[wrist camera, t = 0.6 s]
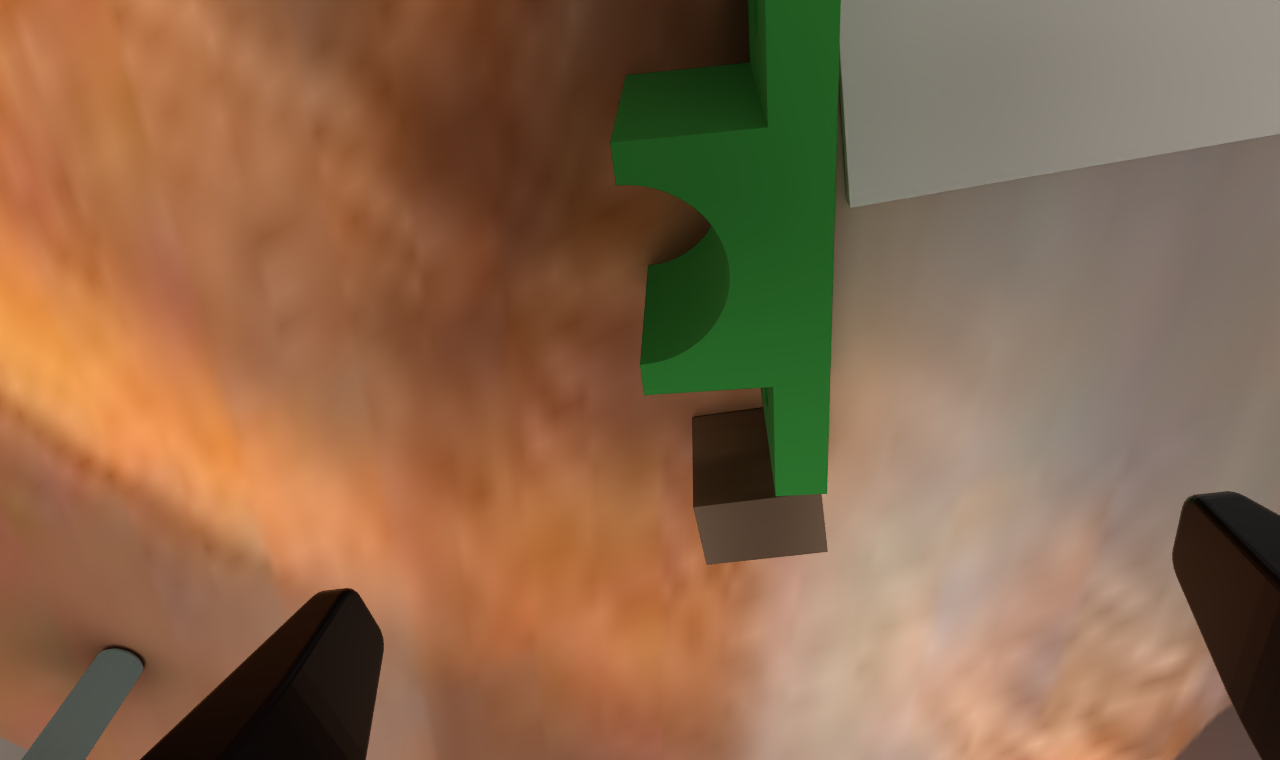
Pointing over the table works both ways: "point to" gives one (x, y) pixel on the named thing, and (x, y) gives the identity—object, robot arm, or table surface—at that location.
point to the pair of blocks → (747, 494)
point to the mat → (1044, 86)
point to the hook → (88, 708)
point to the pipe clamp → (747, 226)
